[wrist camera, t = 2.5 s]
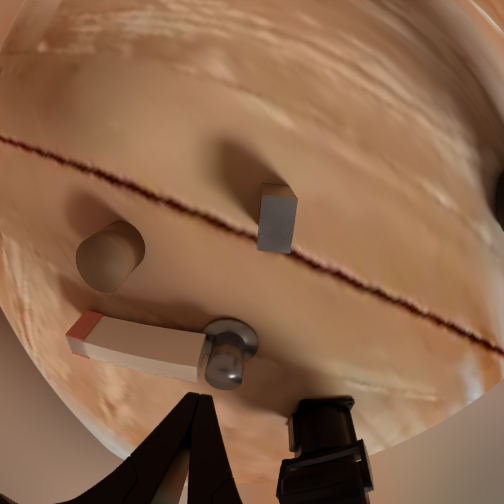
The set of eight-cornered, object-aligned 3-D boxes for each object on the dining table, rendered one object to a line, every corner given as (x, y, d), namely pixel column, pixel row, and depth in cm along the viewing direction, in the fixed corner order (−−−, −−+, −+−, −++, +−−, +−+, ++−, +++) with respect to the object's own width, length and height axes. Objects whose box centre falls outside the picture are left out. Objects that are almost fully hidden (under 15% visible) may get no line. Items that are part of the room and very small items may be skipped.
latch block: (289, 186, 18) (297, 198, 14) (284, 228, 19) (290, 253, 15) (262, 183, 18) (262, 195, 14) (258, 226, 19) (257, 250, 15)
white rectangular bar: (205, 332, 22) (196, 365, 18) (205, 350, 23) (197, 383, 19) (86, 310, 22) (65, 334, 18) (91, 328, 23) (72, 353, 19)
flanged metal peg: (261, 321, 22) (260, 359, 18) (255, 363, 24) (253, 400, 20) (200, 314, 22) (188, 351, 18) (201, 357, 24) (192, 393, 20)
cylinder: (143, 222, 19) (119, 241, 15) (146, 270, 21) (126, 296, 17) (100, 219, 19) (72, 236, 15) (105, 265, 21) (81, 287, 17)
